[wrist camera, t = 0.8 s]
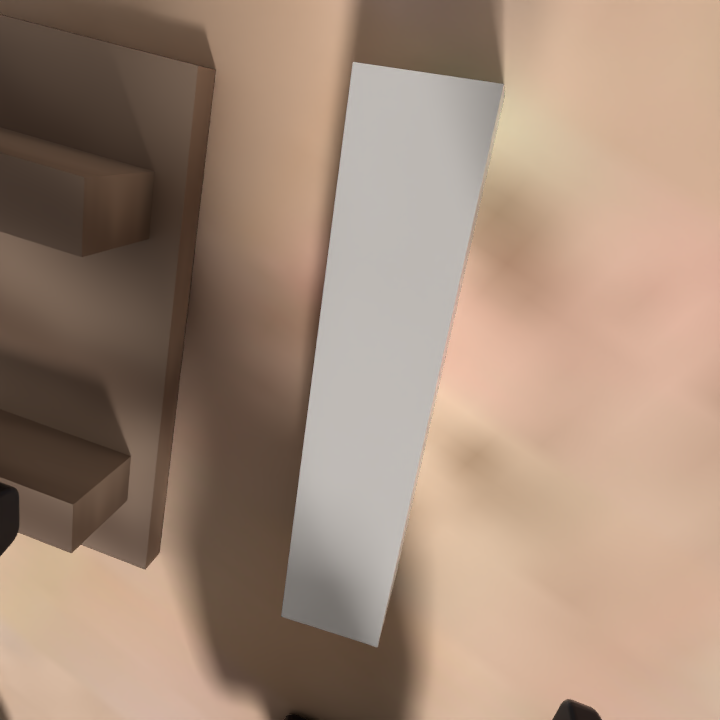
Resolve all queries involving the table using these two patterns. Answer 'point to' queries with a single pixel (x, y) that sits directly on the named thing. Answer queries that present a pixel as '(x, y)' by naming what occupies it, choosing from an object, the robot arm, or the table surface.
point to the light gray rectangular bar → (384, 333)
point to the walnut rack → (94, 280)
